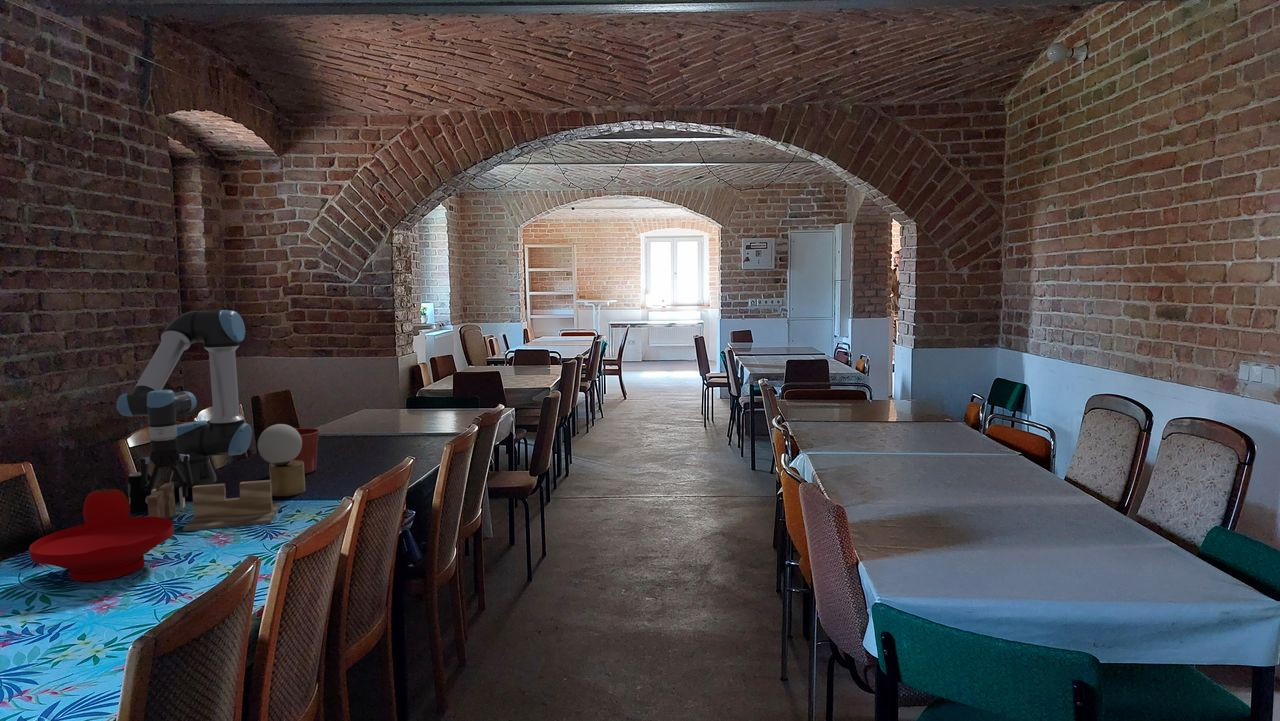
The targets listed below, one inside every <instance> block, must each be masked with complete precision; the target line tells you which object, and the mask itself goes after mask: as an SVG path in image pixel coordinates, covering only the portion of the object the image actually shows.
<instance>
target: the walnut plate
mask: <svg viewBox="0 0 1280 721" xmlns="http://www.w3.org/2000/svg"><path fill="white" fill-rule="evenodd" d="M175 497H176V496H175V488H174V484H173V483H170V482H165V483H163V484H162V485H161V486H160V487H159V488H156V491H155V492H153V493H152V494H151V495H150V496H148V497H147V502H148V510H147V513H148V517H161V518H166V519H169V520H171V518H172V517H173V516H174V515H175V514H176V499H175Z"/></svg>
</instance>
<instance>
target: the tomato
mask: <svg viewBox="0 0 1280 721" xmlns="http://www.w3.org/2000/svg"><path fill="white" fill-rule="evenodd" d="M84 499H85V500H84V502H83V507H82V508H83V509H82V510H83V512H82V514H83V520H84V522H85V524H89V523H94V522H99V521H105V520H112V519H119V518H129V517H130V515H131V509H130V505H129V498H128V497H127V495H126V494H125V492H123V491H121V490H120V489H115V488H109V489H108V488H105V487H101V489H96V490H94V491H91V492H90V493H89V494H87V495H86V497H85V498H84Z"/></svg>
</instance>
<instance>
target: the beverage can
mask: <svg viewBox="0 0 1280 721" xmlns="http://www.w3.org/2000/svg"><path fill="white" fill-rule="evenodd" d="M151 476H152V475H150V471H148V478H147V485H148V484H149V481H150V479H151ZM126 480H127V493H128V494H127V495H128V501H129V505H130V511H132V512H142V511H143V512H144V511H148V502H147V497H148V492H147V490H145V489H141V488H140V484H141V471H136V472H132V473H129V474H128V477H127V479H126Z"/></svg>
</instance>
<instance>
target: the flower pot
mask: <svg viewBox="0 0 1280 721" xmlns="http://www.w3.org/2000/svg"><path fill="white" fill-rule="evenodd" d="M295 429H296V430H297V431H298V433H299V434H300V436H301V439H302V448H301V451H300V453H299V454H298V456H297V457H296V458H295V459H293V460H299V461H303V462H304V473H305V475H307V474H310V473H313V472H314V471H316V470H317V463H318V441H319V434H320V431H321V429H319V428H313V427H302V428H301V427H299V428H298V427H297V428H295Z"/></svg>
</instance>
